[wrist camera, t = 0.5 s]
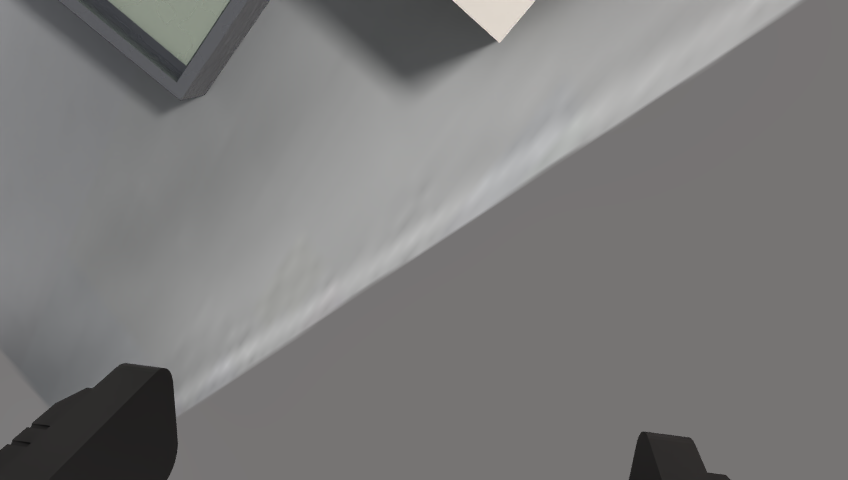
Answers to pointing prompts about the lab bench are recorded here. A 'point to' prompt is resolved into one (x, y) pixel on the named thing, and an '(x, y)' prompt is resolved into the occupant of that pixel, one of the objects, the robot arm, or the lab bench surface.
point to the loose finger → (495, 14)
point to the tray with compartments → (173, 36)
